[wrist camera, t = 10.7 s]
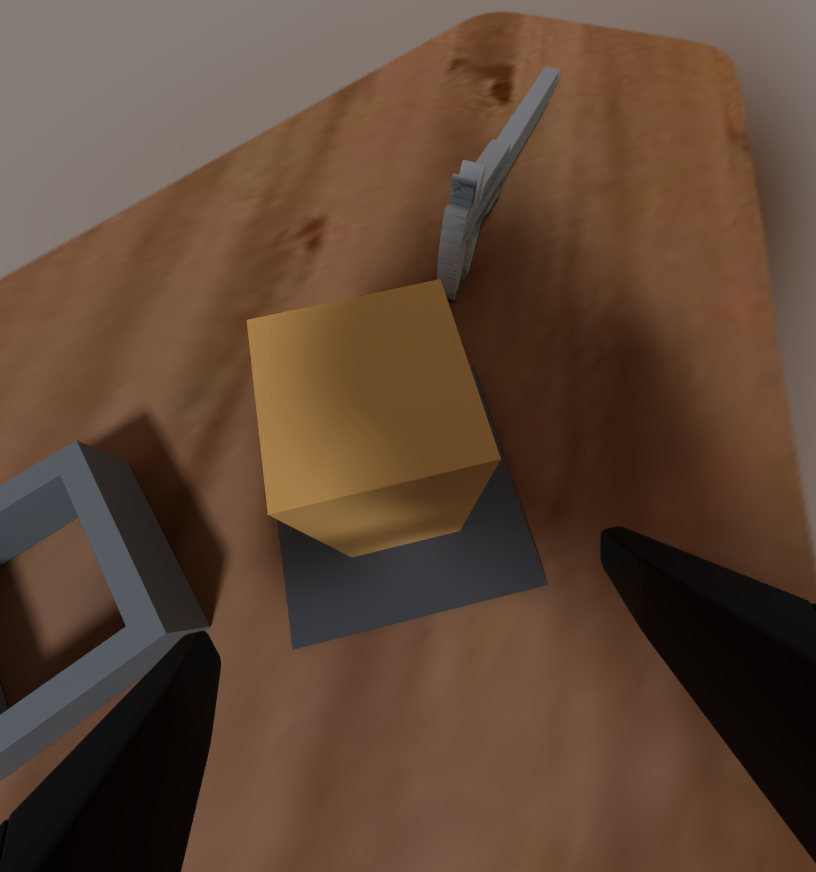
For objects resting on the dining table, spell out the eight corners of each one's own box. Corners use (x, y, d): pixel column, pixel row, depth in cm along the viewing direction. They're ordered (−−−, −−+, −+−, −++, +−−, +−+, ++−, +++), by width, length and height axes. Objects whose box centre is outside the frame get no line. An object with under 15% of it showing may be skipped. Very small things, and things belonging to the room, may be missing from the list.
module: (459, 531, 17) (500, 459, 8) (351, 557, 16) (267, 514, 8) (432, 431, 18) (440, 279, 9) (333, 454, 18) (246, 320, 9)
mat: (543, 584, 16) (547, 584, 16) (296, 648, 16) (292, 649, 15) (472, 372, 20) (473, 366, 19) (269, 417, 19) (265, 413, 19)
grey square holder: (210, 626, 16) (166, 633, 13) (-3, 783, 15) (-105, 828, 12) (127, 463, 19) (76, 440, 16) (-61, 580, 17) (-154, 577, 14)
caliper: (454, 309, 22) (465, 204, 16) (435, 303, 22) (439, 196, 16) (558, 83, 28) (594, -51, 22) (543, 80, 28) (575, -55, 22)
